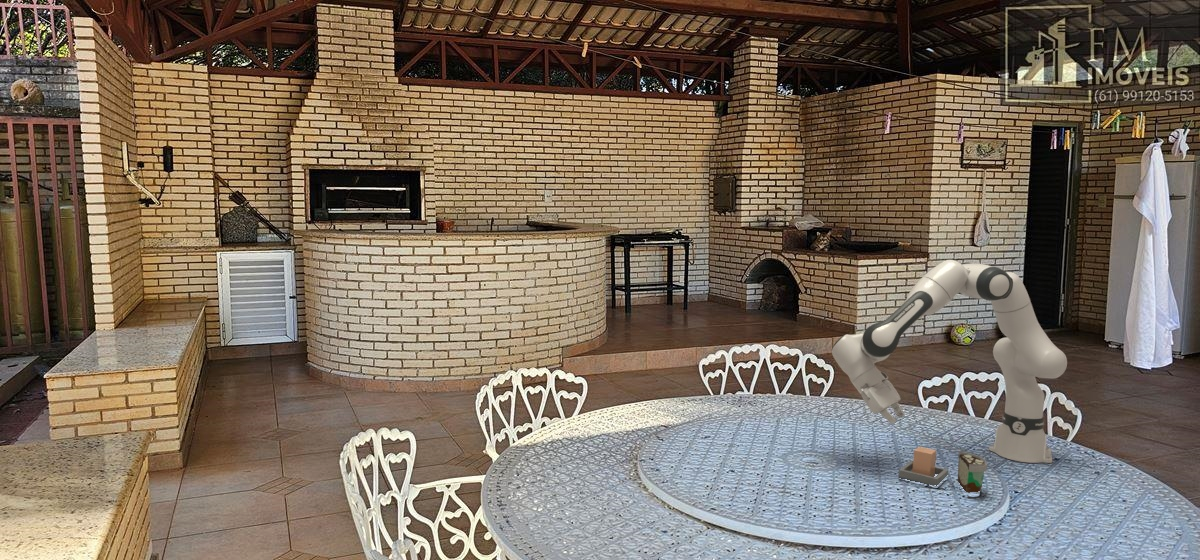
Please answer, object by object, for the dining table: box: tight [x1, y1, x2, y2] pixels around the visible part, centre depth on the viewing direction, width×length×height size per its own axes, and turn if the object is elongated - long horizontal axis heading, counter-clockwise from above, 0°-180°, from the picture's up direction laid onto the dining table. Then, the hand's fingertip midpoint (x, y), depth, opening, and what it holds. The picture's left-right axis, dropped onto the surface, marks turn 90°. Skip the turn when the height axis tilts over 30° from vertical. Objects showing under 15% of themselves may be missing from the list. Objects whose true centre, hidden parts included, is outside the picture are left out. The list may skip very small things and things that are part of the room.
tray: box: [897, 460, 949, 486], centre depth 230 cm, size 11×11×3 cm
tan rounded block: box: [912, 446, 937, 477], centre depth 230 cm, size 5×5×8 cm
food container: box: [957, 451, 988, 493], centre depth 221 cm, size 12×6×10 cm, turn 168°
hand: (898, 419), depth 235 cm, fingers open, 8 cm apart
